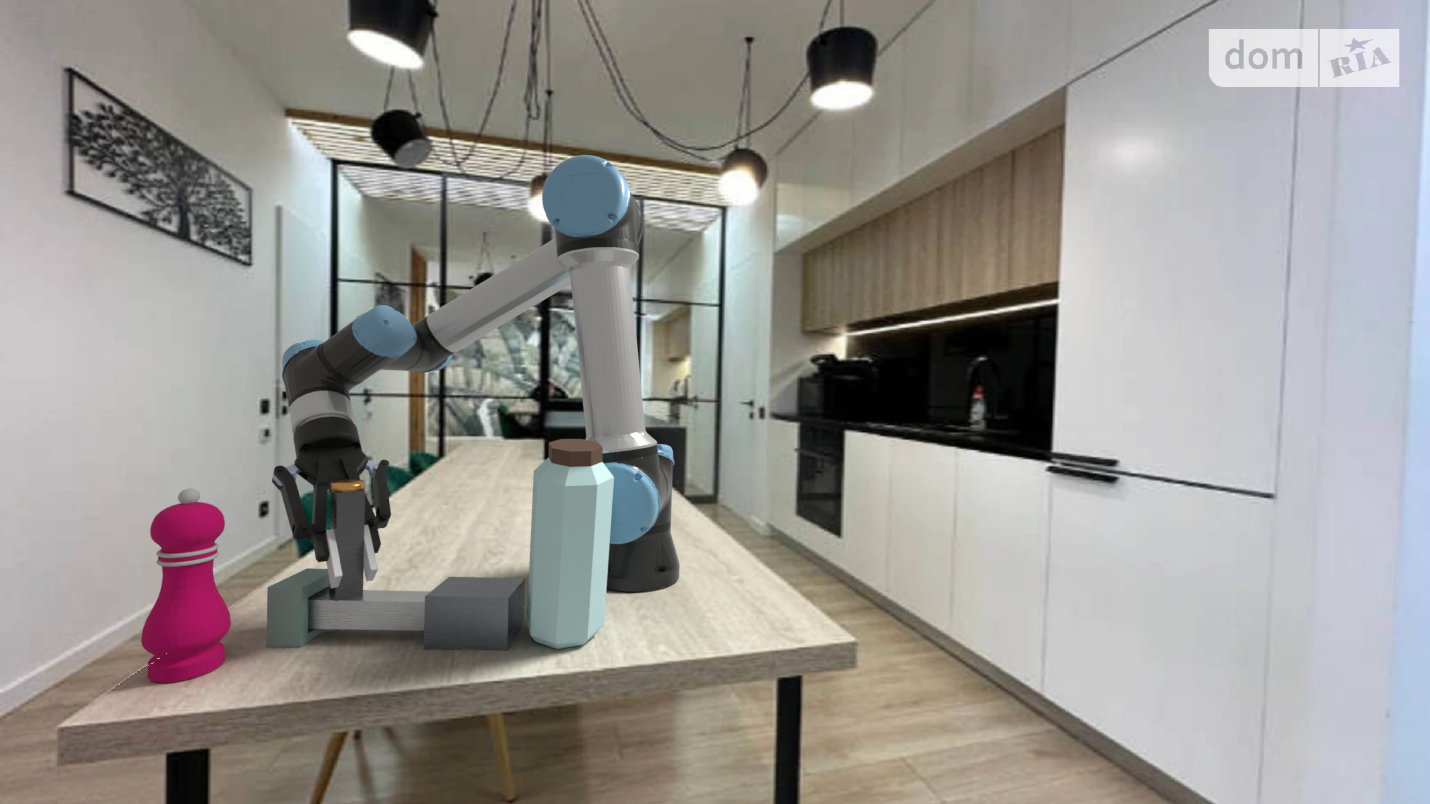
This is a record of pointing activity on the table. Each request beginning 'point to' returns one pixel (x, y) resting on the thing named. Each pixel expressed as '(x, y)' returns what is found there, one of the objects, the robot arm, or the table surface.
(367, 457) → the robot arm
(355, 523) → the gray hammer
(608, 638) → the table surface
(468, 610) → the charcoal rectangular brick
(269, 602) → the socket block
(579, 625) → the water bottle
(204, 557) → the pepper mill
